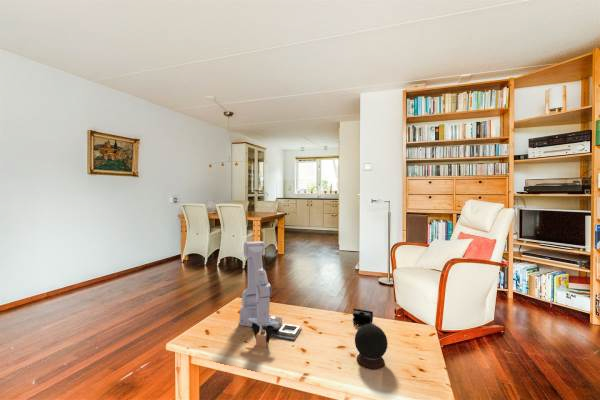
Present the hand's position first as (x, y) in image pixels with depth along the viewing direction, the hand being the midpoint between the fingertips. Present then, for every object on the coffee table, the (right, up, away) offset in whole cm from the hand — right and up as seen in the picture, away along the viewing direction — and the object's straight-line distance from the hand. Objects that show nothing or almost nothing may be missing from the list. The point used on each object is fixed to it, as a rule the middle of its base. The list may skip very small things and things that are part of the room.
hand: (262, 340), depth 132 cm
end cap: (+51, -2, +23) cm, 56 cm away
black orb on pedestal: (+46, -3, -13) cm, 48 cm away
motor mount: (+7, -1, +12) cm, 13 cm away
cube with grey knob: (0, -1, 0) cm, 1 cm away
